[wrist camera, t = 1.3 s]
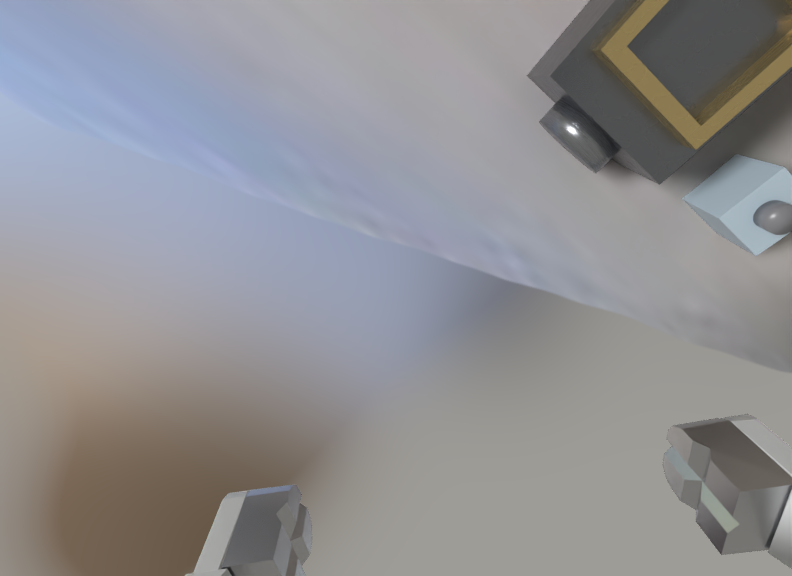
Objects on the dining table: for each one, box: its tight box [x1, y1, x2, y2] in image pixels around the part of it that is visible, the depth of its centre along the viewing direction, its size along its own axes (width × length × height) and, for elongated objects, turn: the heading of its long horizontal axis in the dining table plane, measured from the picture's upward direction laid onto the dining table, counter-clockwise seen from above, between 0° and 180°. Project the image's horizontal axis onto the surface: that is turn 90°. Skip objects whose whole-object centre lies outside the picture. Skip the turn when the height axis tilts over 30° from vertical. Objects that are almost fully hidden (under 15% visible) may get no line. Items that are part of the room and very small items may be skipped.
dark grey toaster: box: [527, 0, 792, 184], centre depth 27 cm, size 16×11×10 cm
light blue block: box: [682, 154, 792, 256], centre depth 32 cm, size 5×5×7 cm
